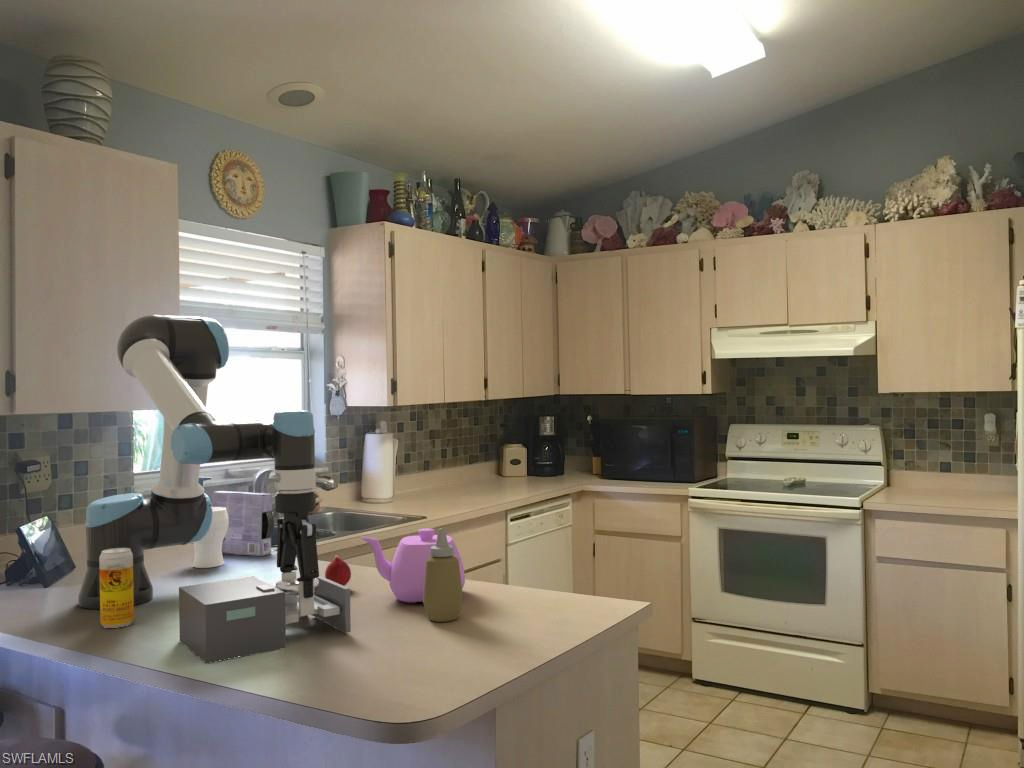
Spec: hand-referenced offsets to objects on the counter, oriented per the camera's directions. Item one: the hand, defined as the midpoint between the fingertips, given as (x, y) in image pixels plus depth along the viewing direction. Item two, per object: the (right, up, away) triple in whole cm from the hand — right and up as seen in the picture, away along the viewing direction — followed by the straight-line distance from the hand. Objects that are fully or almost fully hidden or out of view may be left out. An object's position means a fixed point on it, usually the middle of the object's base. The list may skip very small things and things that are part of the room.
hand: (298, 609), depth 163 cm
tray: (0, -4, 0) cm, 4 cm away
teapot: (+22, -4, +25) cm, 34 cm away
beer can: (-38, -5, +7) cm, 39 cm away
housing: (-10, -4, -7) cm, 13 cm away
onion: (+1, -5, +34) cm, 34 cm away
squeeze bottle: (+27, -4, +7) cm, 29 cm away
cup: (-41, -6, +66) cm, 77 cm away
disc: (0, +4, 0) cm, 4 cm away
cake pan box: (-36, -6, +82) cm, 90 cm away
